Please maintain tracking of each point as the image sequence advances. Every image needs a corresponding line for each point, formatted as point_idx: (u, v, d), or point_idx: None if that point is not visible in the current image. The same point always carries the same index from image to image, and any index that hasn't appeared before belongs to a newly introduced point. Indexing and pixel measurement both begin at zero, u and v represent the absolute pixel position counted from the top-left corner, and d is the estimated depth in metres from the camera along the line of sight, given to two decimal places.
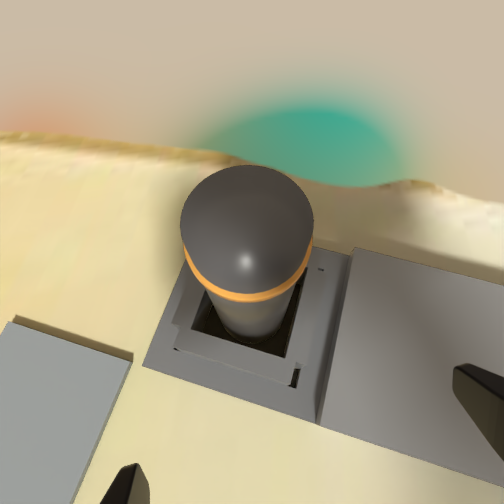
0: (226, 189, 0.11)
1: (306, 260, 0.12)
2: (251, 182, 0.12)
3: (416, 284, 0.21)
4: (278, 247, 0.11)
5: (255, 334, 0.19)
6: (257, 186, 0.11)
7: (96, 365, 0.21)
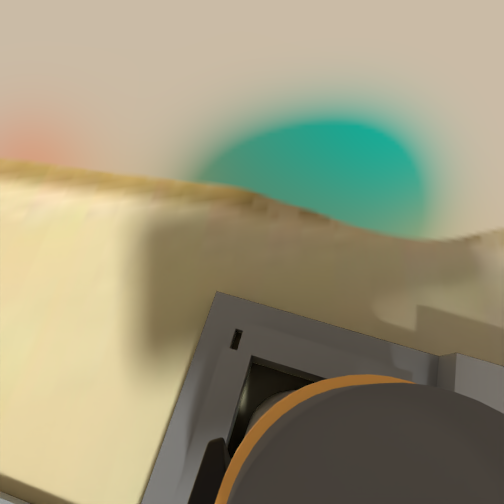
0: (347, 483, 0.04)
1: None
2: (422, 455, 0.04)
3: None
4: None
5: None
6: (444, 473, 0.04)
7: None
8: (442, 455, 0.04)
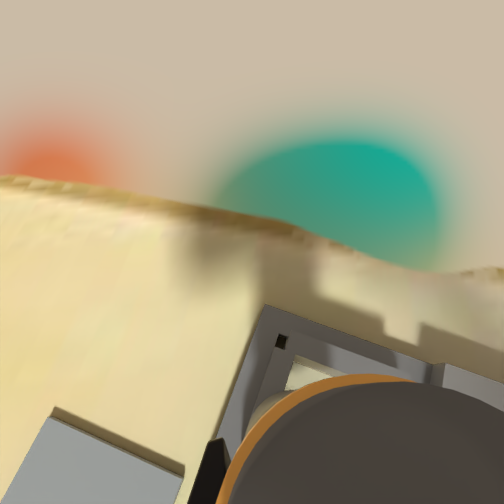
0: (348, 481, 0.04)
1: None
2: (424, 453, 0.04)
3: None
4: None
5: None
6: (446, 471, 0.04)
7: (144, 480, 0.19)
8: (443, 453, 0.04)
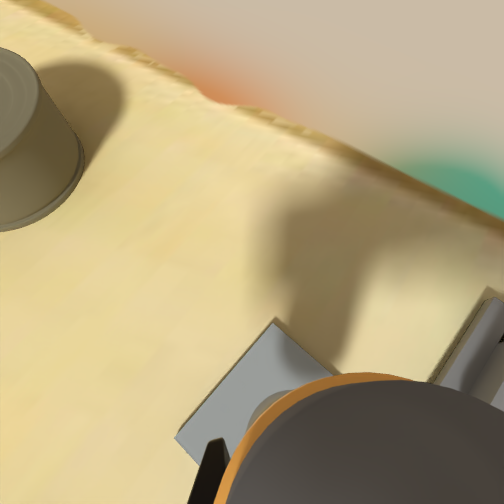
0: (345, 479, 0.04)
1: None
2: (421, 452, 0.04)
3: None
4: None
5: None
6: (443, 469, 0.04)
7: None
8: (441, 452, 0.04)
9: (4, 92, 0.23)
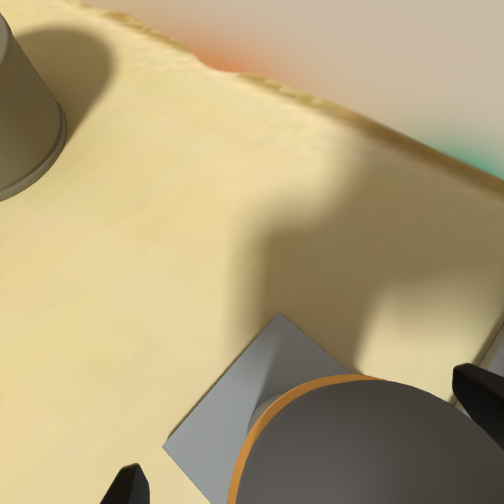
0: (333, 452, 0.05)
1: None
2: (387, 432, 0.05)
3: None
4: None
5: None
6: (403, 444, 0.05)
7: None
8: (402, 432, 0.05)
9: None
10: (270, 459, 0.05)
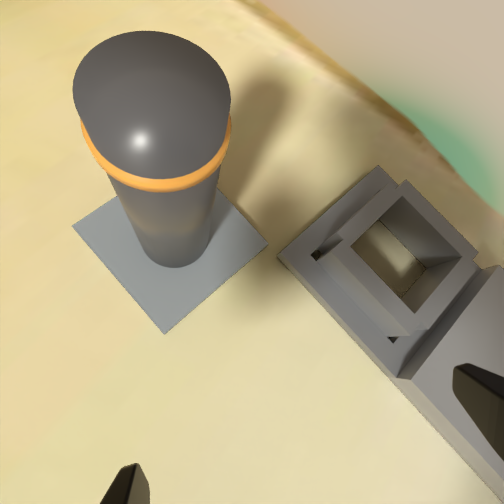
0: (137, 53, 0.10)
1: (218, 155, 0.11)
2: (168, 52, 0.10)
3: None
4: (185, 127, 0.09)
5: (170, 252, 0.18)
6: (174, 58, 0.10)
7: (240, 229, 0.23)
8: (176, 54, 0.10)
9: None
10: (105, 49, 0.10)
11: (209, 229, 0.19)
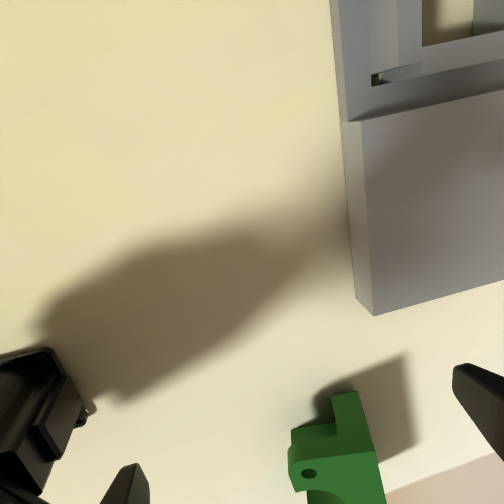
0: None
1: None
2: None
3: None
4: None
5: None
6: None
7: None
8: None
9: None
10: None
11: None
